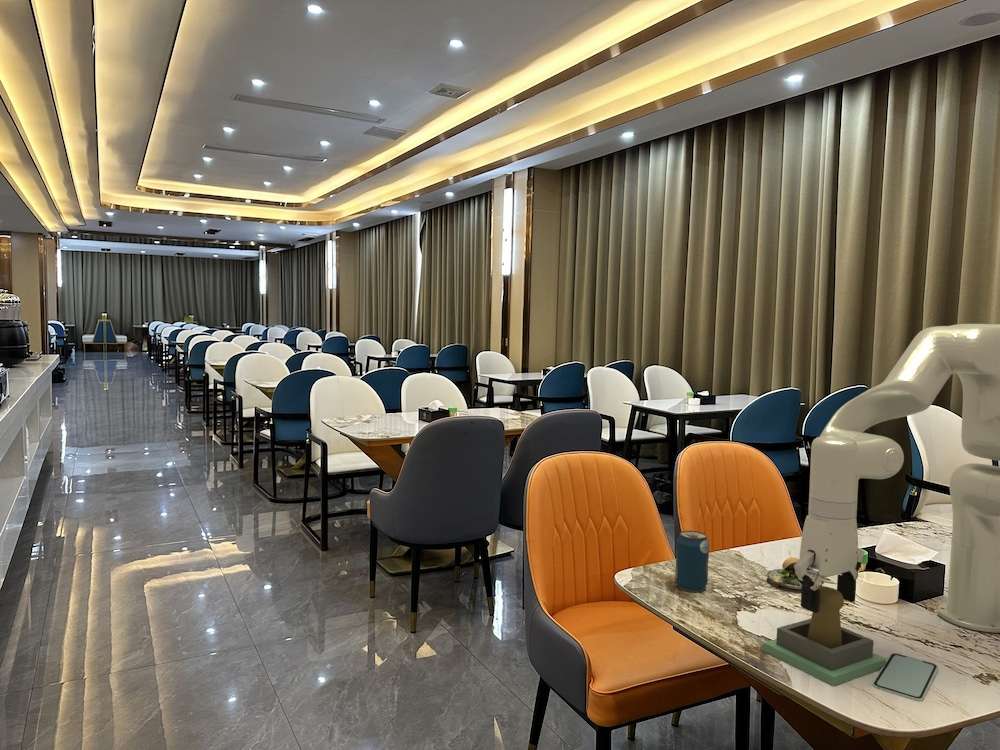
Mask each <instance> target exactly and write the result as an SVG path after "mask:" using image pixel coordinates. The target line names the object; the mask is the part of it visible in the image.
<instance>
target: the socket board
mask: <svg viewBox="0 0 1000 750" xmlns="http://www.w3.org/2000/svg"><path fill="white" fill-rule="evenodd" d="M810 622H811V618H808V619H805V620H801V621H798V622H794V623H789V624H786V625H783V626H780V627H777V629H776V638H775V639H771V640H768V641H765V642H763V647H762V648H763V649H762V651H763V652H764V653H766V654H769V655H770V656H773V657H775V658H777V659H778V660H780V661H782V662H785V663H786V664H788V665H790V666H793V667H795V668H797V669H798V670H800V671H803V672H805V673H807V674H808V675H810V676H813V677H814V678H816V679H818V680H820V681H822V682H824V683H826V684H828V685H830V686H832V687H835V686H838V685H841V684H843V683H847V682H850V681H852V680H854V679H858V678H860V677H864V676H866V675H869V674H871V673H872V674H873V673H875V672H877V671H880V670H881V668H882V667H883V666H884V665H886V660H887V659H886V658H885V657H882V656H880V655H878V654H875V653H874V641H875V640H874V639H872V638H870V637H867V636H864V635H862V634H859V633H857V632H855V631H853V630H849V629H848V628H845V627H843V626H841V635H842V646H839V647H836V648H833V649H830V648H827V647H825V646H823V645H821V644H819V643H816V642H814V641H812V640H810V639H808V638H807V637H808V632H809V627H810Z"/></svg>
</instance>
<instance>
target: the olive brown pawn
mask: <svg viewBox="0 0 1000 750" xmlns="http://www.w3.org/2000/svg"><path fill="white" fill-rule="evenodd" d="M817 589H818V590H820V601H819V612H818V613H814V612H811V617H810V619H811V622H810V627H809V632H808V637H807V638H808V639H810V640H812V641H814V642H816V643H819V644H821V645H823V646H825V647H827V648H830V649H833V648H836V647H839V646H842V635H841V627H842V624H841V611H840V610H842V609H843V607H844V605H845V604H844V602H845V600H844V599H843V596H842V594H841V593H840V592H839V591H838V590H837V588H836V589H835V588H834V587H829V586H818V588H817Z"/></svg>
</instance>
